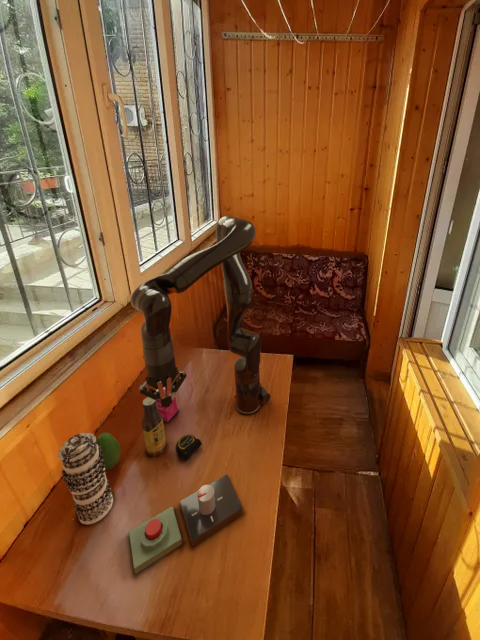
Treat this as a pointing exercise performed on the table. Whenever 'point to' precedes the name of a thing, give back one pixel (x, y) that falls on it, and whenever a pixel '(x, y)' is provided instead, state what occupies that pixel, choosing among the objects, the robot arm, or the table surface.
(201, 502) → the stove knob
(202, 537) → the hob panel
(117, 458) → the avocado
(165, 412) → the supplement box
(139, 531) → the block
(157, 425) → the sauce bottle
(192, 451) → the tape measure
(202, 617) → the table surface
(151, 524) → the power button
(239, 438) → the table surface
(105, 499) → the decorative candle
